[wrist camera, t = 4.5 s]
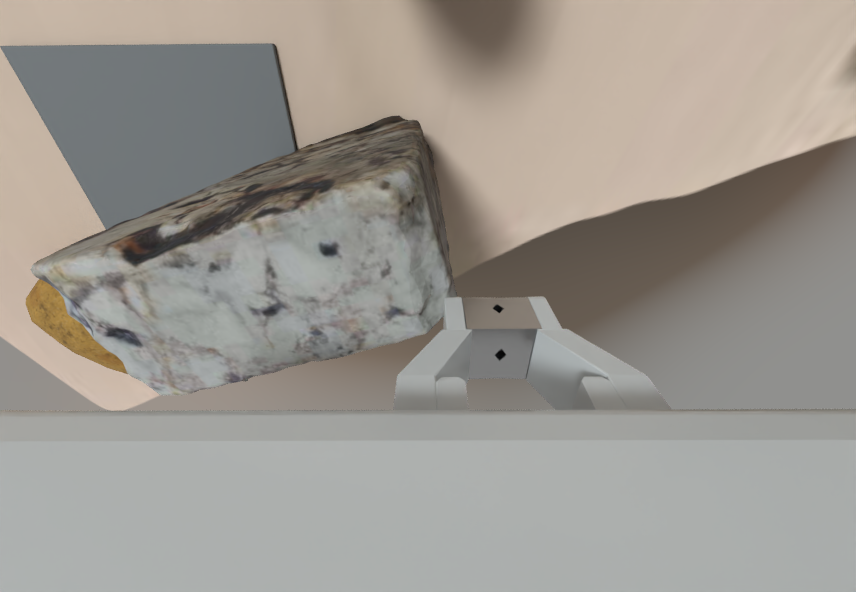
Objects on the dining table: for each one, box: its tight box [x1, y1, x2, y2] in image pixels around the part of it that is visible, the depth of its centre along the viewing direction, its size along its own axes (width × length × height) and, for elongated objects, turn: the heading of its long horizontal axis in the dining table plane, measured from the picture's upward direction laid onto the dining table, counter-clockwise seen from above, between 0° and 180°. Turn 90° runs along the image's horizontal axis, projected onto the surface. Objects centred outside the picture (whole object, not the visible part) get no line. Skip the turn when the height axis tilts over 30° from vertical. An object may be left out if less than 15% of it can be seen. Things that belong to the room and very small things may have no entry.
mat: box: [0, 44, 297, 230], centre depth 27 cm, size 19×16×1 cm
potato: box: [26, 279, 128, 374], centre depth 32 cm, size 9×13×7 cm
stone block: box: [31, 116, 457, 395], centre depth 19 cm, size 13×7×20 cm, turn 111°
